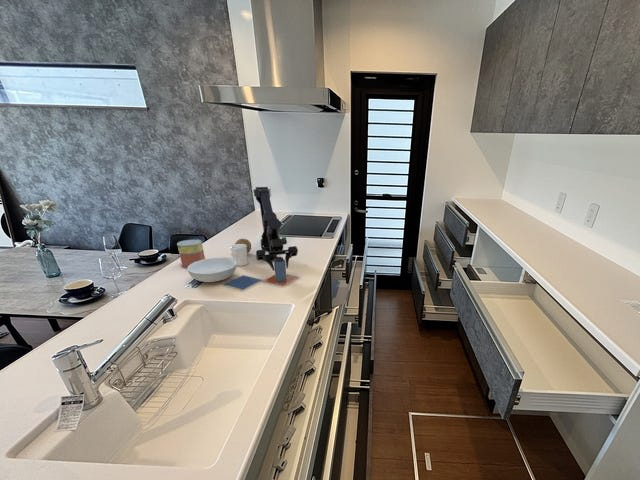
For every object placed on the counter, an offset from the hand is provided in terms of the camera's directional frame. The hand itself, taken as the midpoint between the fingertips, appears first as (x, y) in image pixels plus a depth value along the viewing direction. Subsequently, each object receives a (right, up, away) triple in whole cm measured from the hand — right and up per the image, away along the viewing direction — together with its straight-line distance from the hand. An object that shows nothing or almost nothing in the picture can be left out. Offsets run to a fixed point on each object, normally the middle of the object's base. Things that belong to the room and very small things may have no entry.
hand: (280, 269), depth 141 cm
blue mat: (-18, -6, +1) cm, 19 cm away
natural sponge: (-32, +9, +36) cm, 49 cm away
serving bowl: (-33, -4, +5) cm, 34 cm away
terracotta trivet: (-1, -5, +5) cm, 7 cm away
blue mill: (-1, -5, +4) cm, 6 cm away
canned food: (-52, +3, +21) cm, 57 cm away
